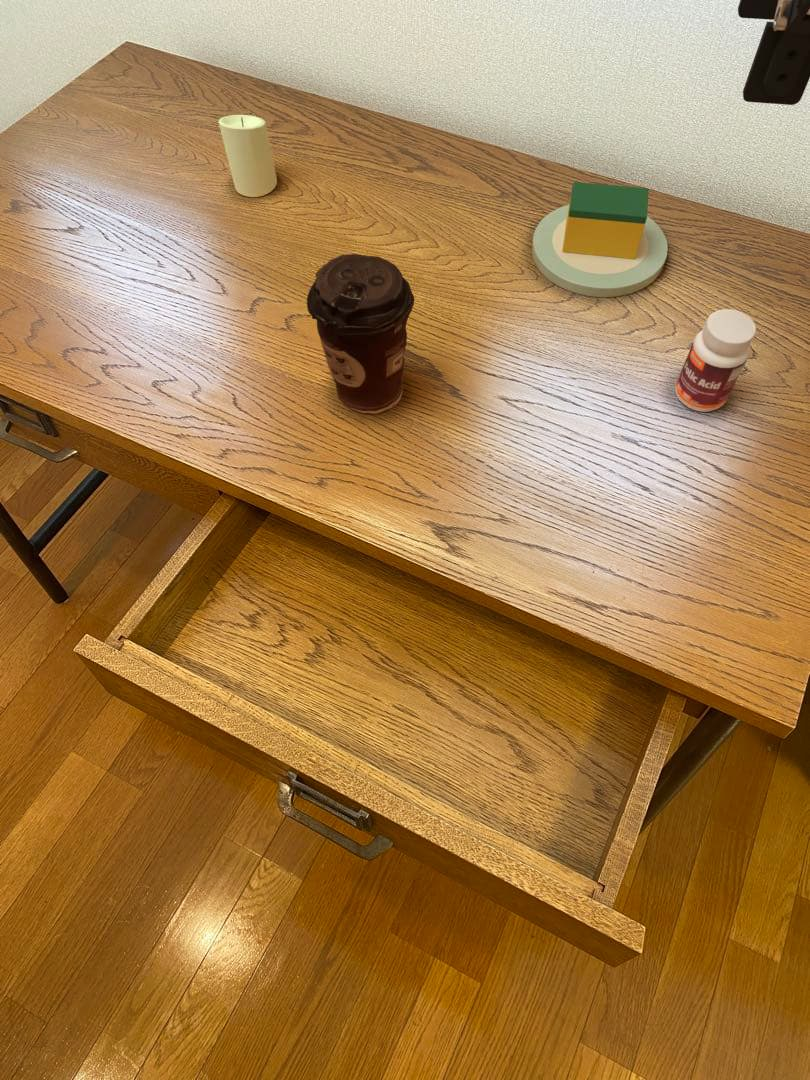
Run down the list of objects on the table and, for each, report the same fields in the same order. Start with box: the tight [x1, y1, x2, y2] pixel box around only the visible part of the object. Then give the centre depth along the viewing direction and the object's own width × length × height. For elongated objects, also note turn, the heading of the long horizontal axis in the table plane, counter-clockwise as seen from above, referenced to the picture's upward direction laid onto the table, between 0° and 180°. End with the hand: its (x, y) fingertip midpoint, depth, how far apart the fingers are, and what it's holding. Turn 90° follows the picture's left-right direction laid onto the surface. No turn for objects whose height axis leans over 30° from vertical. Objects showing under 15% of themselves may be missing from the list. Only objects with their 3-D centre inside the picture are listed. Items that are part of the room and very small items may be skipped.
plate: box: [531, 204, 669, 298], centre depth 79 cm, size 14×14×1 cm
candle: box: [217, 114, 278, 198], centre depth 84 cm, size 5×5×8 cm
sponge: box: [562, 181, 649, 259], centre depth 76 cm, size 8×5×5 cm, turn 79°
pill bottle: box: [674, 308, 757, 413], centre depth 65 cm, size 5×5×8 cm
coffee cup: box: [306, 253, 415, 415], centre depth 65 cm, size 9×8×13 cm
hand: (765, 56), depth 46 cm, fingers open, 9 cm apart
